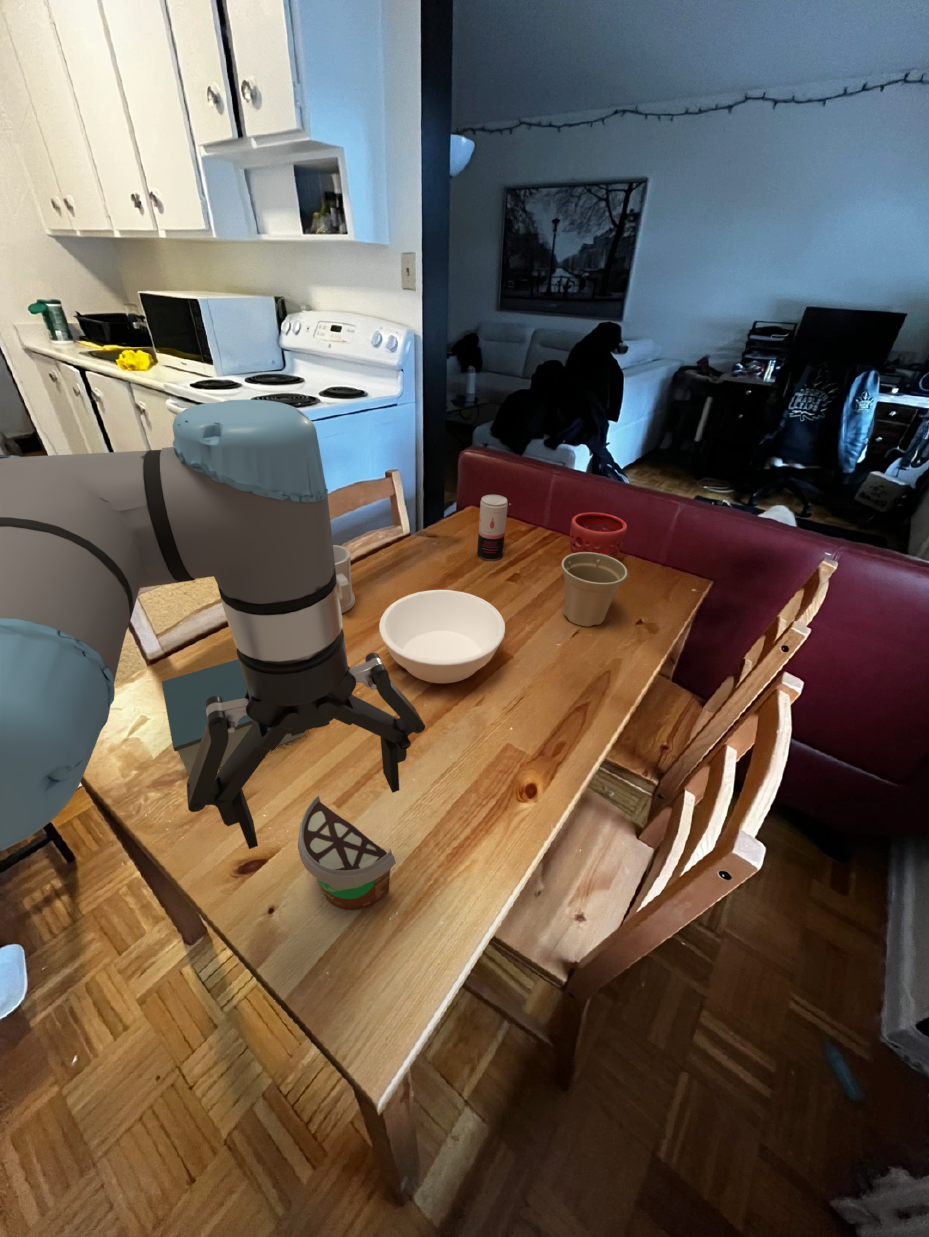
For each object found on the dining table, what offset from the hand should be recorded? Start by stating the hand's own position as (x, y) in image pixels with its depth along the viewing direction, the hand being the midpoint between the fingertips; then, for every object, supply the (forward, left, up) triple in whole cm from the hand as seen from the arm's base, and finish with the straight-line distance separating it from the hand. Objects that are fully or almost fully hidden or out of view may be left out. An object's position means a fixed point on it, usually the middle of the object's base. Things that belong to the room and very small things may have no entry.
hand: (325, 806), depth 48 cm
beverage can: (+62, +62, -17) cm, 89 cm away
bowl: (+31, +32, -17) cm, 48 cm away
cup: (+20, +58, -17) cm, 63 cm away
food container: (0, +1, -17) cm, 17 cm away
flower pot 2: (+65, +30, -17) cm, 74 cm away
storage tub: (-5, +33, -17) cm, 37 cm away
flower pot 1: (+82, +46, -17) cm, 95 cm away
